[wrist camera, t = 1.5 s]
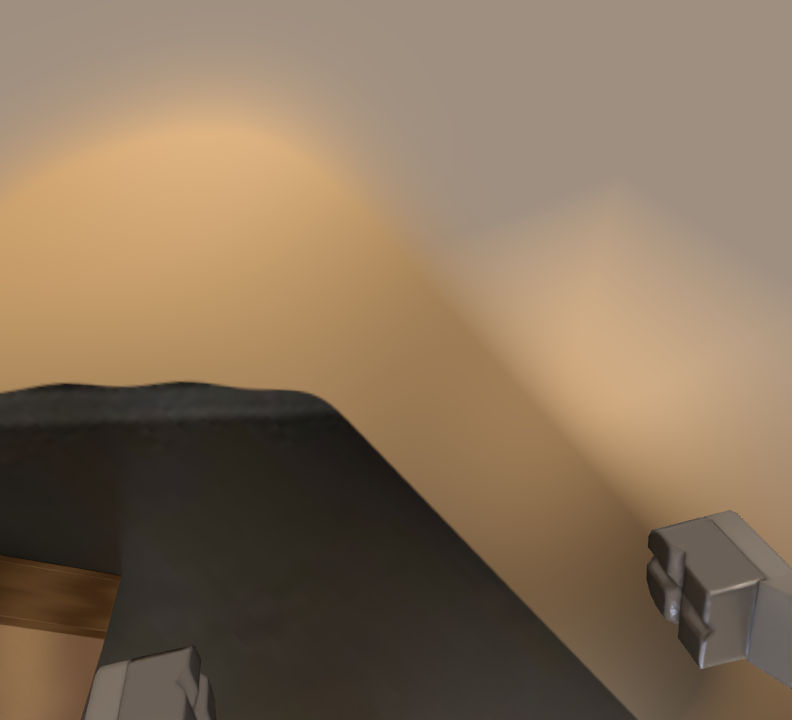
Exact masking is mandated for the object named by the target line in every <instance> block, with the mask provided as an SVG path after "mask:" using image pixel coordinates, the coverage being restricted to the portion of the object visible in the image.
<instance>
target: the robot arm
mask: <svg viewBox="0 0 792 720" xmlns="http://www.w3.org/2000/svg"><path fill="white" fill-rule="evenodd" d="M648 548H649V549H650V550H651V551H652V553H653V554H654V556H653V558H652V559H651V560H650V562H649V563H648V564H647V583H648V587H649V590H650V594H651V596H652V598H653V600H654V602H655V604H656V606H657V608H658V609H659V611H660V612H661V614H662V615H663V617H664V618H666V619H668V620H670V621H672V622H674V623H676V624H678V625H679V632H678V638H679V640H680V641H681V643H682V644H683V645H684V647H685V648H686V650H687V651H688V652H689V654H690V655H691V657H692V658H693V660H694V661H695V662H696V664H697V665H698V667H699V668H700V669H702V668H706V667H710V666H714V665H718V664H723V663H726V662H730V661H735V660H739V659H743V658H747V661H749V662H750V663H752V664H753V665H755V666H756V667H758V668H759V669H761V670H763V671H764V672H766V673H767V674H769V675H770V676H772V677H774V678H775V679H777V680H779V681H780V682H781V683H783V684H785V685H786V686H788V687H790V688H791V689H792V568H791V567H790V566H789V565H788V564H787V563H786V562H785V561H784V560H783V559H782V558H781V557H780V556H779V555H778V554H777V553H776V552H775V551H774V550H773V549H772V548H771V547H770V546H769V545H768V544H767V543H766V542H765V541H764V540H763V539H762V538H761V537H760V536H759V535H758V534H757V533H756V532H755V531H754V530H753V529H752V528H751V527H750V526H749V525H748V524H747V523H746V522H745V521H744V520H743V519H742V518H741V517H740V516H739V515H738V514H737V513H735V512H733V511H731V510H729V511H725V512H721V513H717V514H713V515H709V516H705V517H703V518H697V519H693V520H689V521H685V522H682V523H678V524H674V525H670V526H666V527H662V528H658V529H655V530H652V531H651V533H650V535H649V541H648ZM200 665H201V659H200V656H199V654H198V652H197V650H196V647H195V646H187V647H183V648H178V649H174V650H169V651H165V652H160V653H156V654H151V655H147V656H142V657H138V658H133V659H131V660H127V661H122V662H118V663H113V664H109V665H105V666H101V667H100V668H99V670H98V672H97V673H96V675H95V677H94V681H93V686H92V690H91V694H90V699H89V703H88V707H87V712H86V716H85V720H216V709H215V699H214V695H213V691H212V687H211V684H210V681H209V679H208V677H207V676H205V675H203V674H201V673H200Z"/></svg>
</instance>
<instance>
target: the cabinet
mask: <svg viewBox="0 0 792 720" xmlns="http://www.w3.org/2000/svg"><path fill="white" fill-rule="evenodd" d="M120 579H121V576H119V575H113V574H107V573H102V572H96V571H90V570H84V569H78V568H72V567H67V566H61V565H55V564H49V563H43V562H37V561H32V560H26V559H20V558H14V557H8V556H2V555H0V720H81V718H82V715H83V711H84V708H85V705H86V701H87V698H88V695H89V691H90V688H91V685H92V681H93V678H94V675H95V671H96V668H97V665H98V661H99V658H100V655H101V651H102V648H103V645H104V641H105V638H106V634H107V630H108V626H109V622H110V618H111V614H112V610H113V606H114V603H115V599H116V595H117V591H118V587H119V583H120Z"/></svg>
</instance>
